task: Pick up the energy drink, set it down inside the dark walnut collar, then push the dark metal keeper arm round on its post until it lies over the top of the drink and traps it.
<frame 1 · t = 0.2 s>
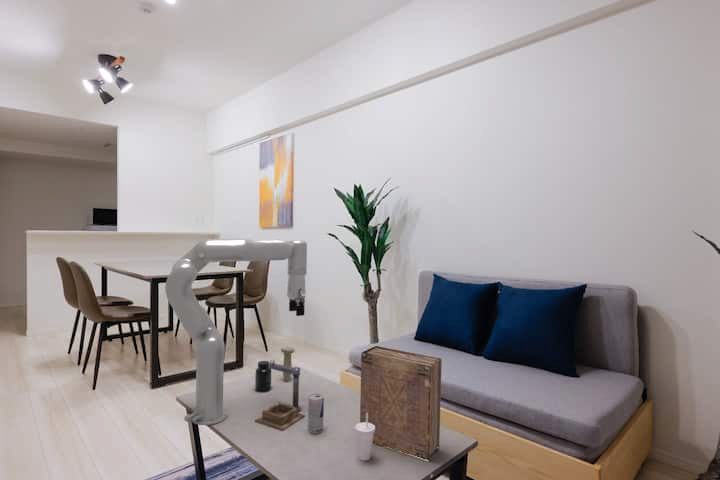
hand: (296, 313, 165), 37 cm above the table, tool pointing down, fingers open, 9 cm apart
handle: (287, 380, 191), on the table
collar base: (280, 419, 152), on the table
smoothie: (364, 457, 128), on the table
keeper arm: (284, 368, 163), point 16 cm above the table, hinge at 0.0°
supplement bottle: (263, 389, 180), on the table
book: (398, 444, 137), on the table
energy drink: (315, 430, 145), on the table
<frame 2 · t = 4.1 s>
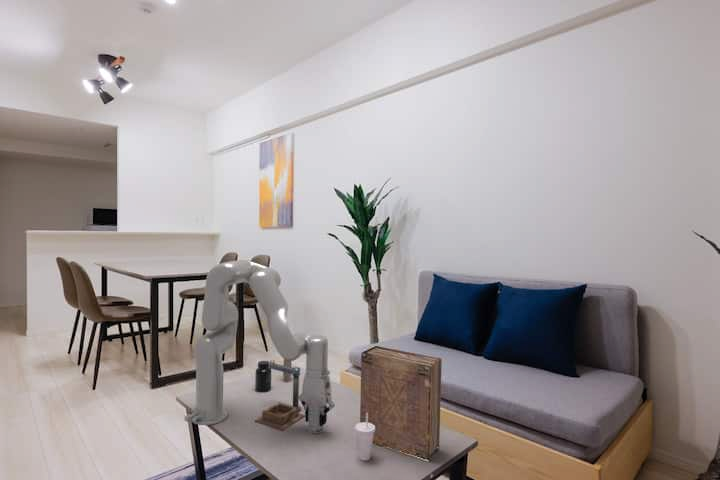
hand: (315, 421, 144), 3 cm above the table, tool pointing down, fingers closed on energy drink, 5 cm apart
energy drink: (315, 430, 145), on the table, touching gripper
everything else where it was.
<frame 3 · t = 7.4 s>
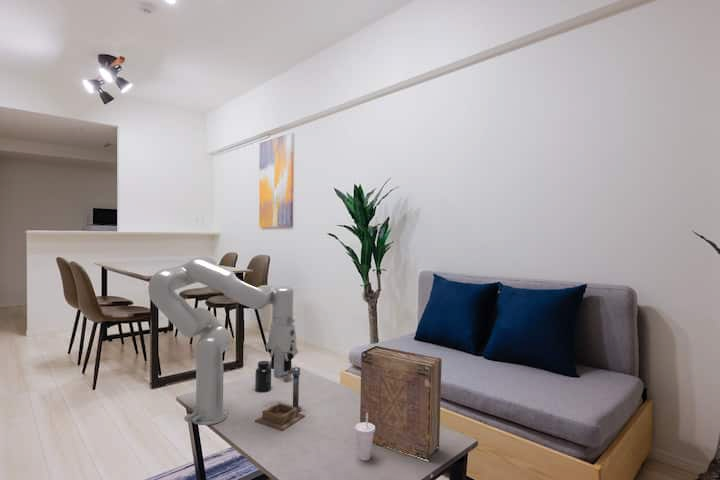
hand: (280, 368, 152), 19 cm above the table, tool pointing down, fingers closed on energy drink, 5 cm apart
energy drink: (280, 376, 152), point 16 cm above the table, touching gripper
everything else where it was.
when the fingers open (5 cm above the table, at t = 10.6 s): energy drink stays where it is, resting on collar base.
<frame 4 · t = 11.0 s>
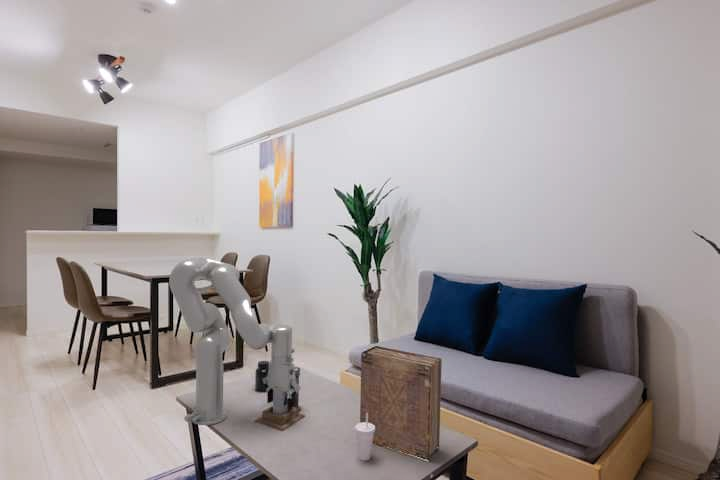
hand: (280, 404, 152), 5 cm above the table, tool pointing down, fingers open, 9 cm apart
energy drink: (280, 418, 152), resting on collar base
everything else where it was.
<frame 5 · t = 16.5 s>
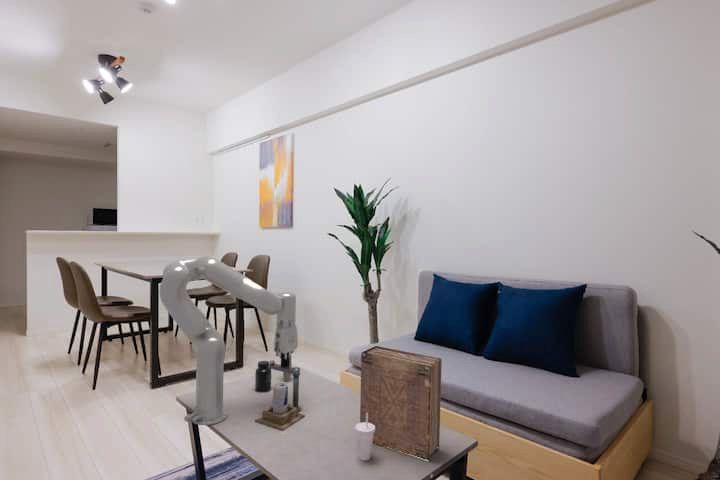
hand: (285, 367, 166), 14 cm above the table, tool pointing down, fingers closed
keeper arm: (284, 368, 163), point 16 cm above the table, hinge at 0.2°, touching gripper
everything else where it was.
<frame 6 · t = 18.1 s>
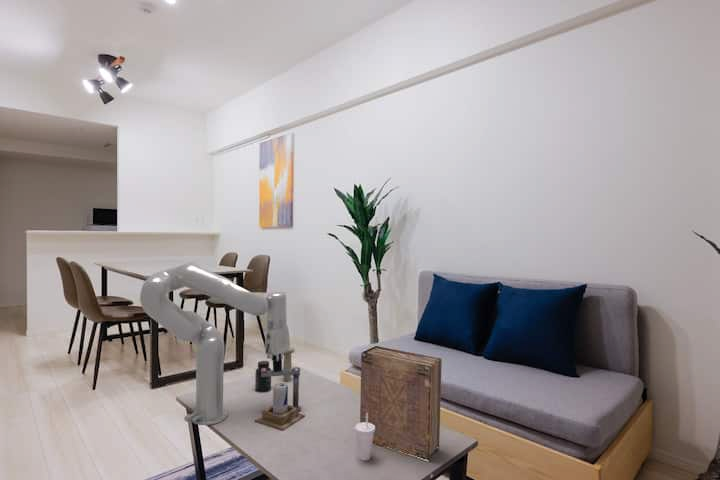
hand: (277, 369, 161), 15 cm above the table, tool pointing down, fingers closed
keeper arm: (280, 371, 158), point 16 cm above the table, hinge at 44.0°, touching gripper
everything else where it was.
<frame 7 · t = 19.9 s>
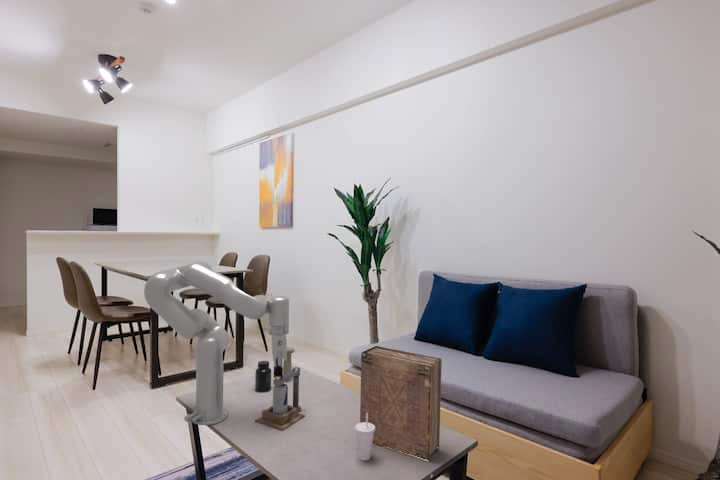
hand: (278, 377, 154), 15 cm above the table, tool pointing down, fingers closed
keeper arm: (287, 375, 154), point 16 cm above the table, hinge at 95.1°, touching gripper
everything else where it was.
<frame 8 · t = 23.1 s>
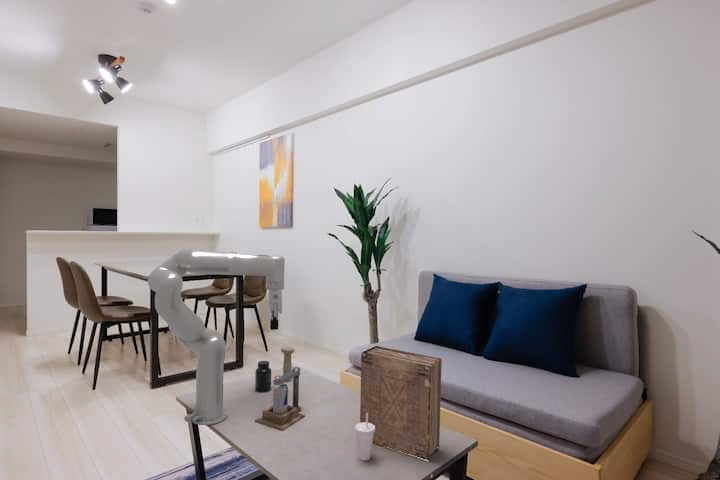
hand: (274, 329, 170), 29 cm above the table, tool pointing down, fingers closed
keeper arm: (287, 375, 154), point 16 cm above the table, hinge at 95.2°
everything else where it was.
at the end: energy drink 0.1 cm off-centre on the collar base, point 0.4 cm above the collar base's base; energy drink tilted 0°; keeper arm at +95° (first picture: +0°) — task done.
